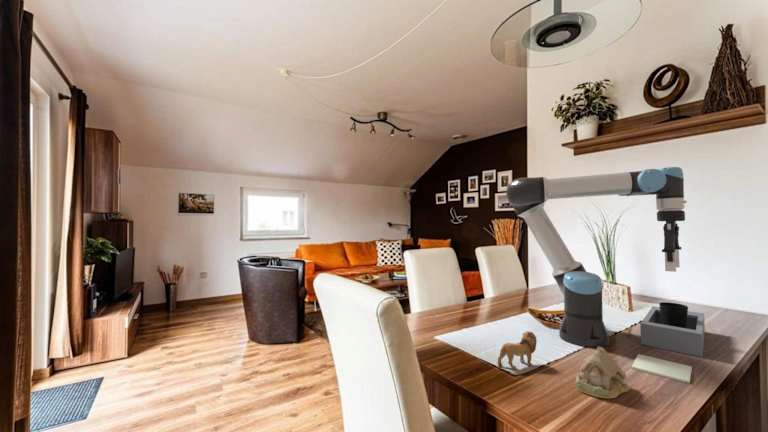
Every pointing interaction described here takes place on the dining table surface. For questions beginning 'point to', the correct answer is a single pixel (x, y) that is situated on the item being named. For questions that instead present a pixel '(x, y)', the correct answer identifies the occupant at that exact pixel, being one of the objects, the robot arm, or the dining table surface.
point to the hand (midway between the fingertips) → (672, 269)
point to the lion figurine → (519, 349)
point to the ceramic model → (601, 376)
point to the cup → (673, 314)
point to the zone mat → (663, 368)
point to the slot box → (674, 333)
